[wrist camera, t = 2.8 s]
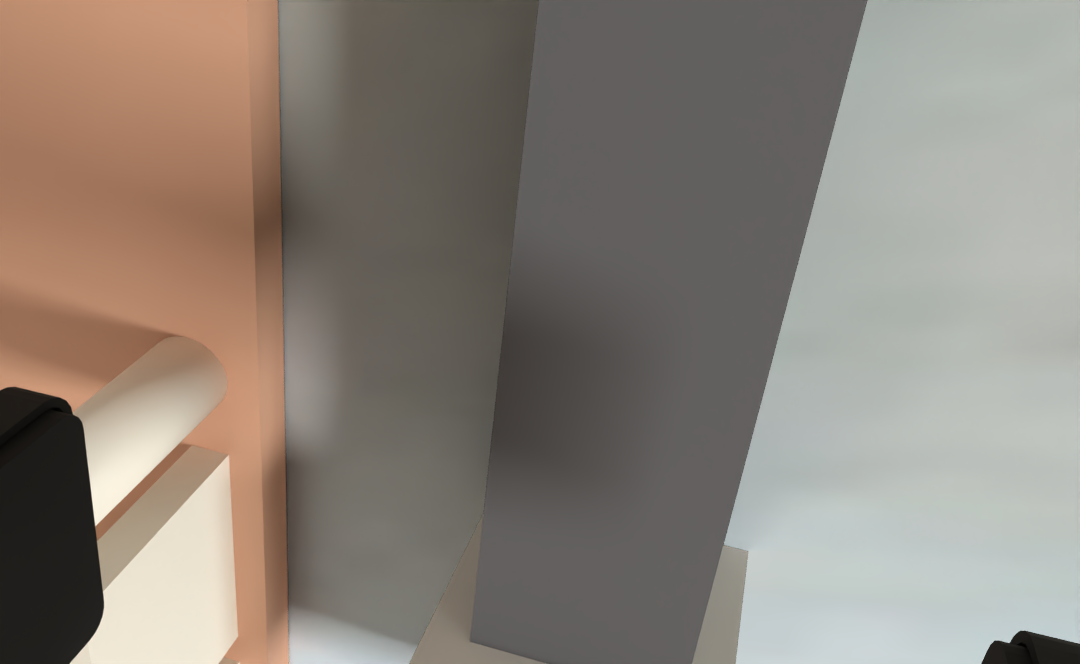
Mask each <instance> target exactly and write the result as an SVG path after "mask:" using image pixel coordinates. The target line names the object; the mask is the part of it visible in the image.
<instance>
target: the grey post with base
mask: <svg viewBox="0 0 1080 664" xmlns="http://www.w3.org/2000/svg"><path fill="white" fill-rule="evenodd" d="M866 3H867V0H539V4H538V13H537V23H536V32H535V41H534V50H533V60H532V69H531V78H530V87H529V97H528V106H527V115H526V125H525V134H524V143H523V152H522V162H521V171H520V180H519V189H518V199H517V208H516V217H515V226H514V236H513V245H512V254H511V264H510V273H509V282H508V291H507V301H506V310H505V319H504V328H503V338H502V347H501V356H500V365H499V375H498V384H497V393H496V402H495V412H494V421H493V430H492V440H491V449H490V458H489V467H488V477H487V486H486V495H485V504H484V513H483V515H482V517H481V519H480V521H479V523H478V525H477V527H476V529H475V531H474V533H473V535H472V537H471V539H470V541H469V543H468V545H467V547H466V549H465V551H464V554H463V556H462V558H461V560H460V562H459V564H458V566H457V568H456V570H455V572H454V574H453V576H452V578H451V580H450V582H449V584H448V586H447V588H446V590H445V592H444V594H443V596H442V598H441V600H440V602H439V604H438V606H437V608H436V610H435V612H434V614H433V616H432V618H431V621H430V623H429V625H428V627H427V629H426V631H425V633H424V635H423V637H422V639H421V641H420V643H419V645H418V647H417V649H416V651H415V653H414V655H413V657H412V659H411V661H410V663H409V664H735V663H736V654H737V646H738V637H739V628H740V620H741V611H742V603H743V594H744V585H745V577H746V568H747V559H748V551H744V550H740V549H736V548H733V547H729V546H725V545H724V541H725V537H726V533H727V529H728V526H729V522H730V518H731V514H732V510H733V507H734V503H735V499H736V495H737V492H738V488H739V484H740V480H741V476H742V473H743V469H744V465H745V461H746V457H747V454H748V450H749V446H750V442H751V439H752V435H753V431H754V427H755V423H756V420H757V416H758V412H759V408H760V405H761V401H762V397H763V393H764V389H765V386H766V382H767V378H768V374H769V370H770V367H771V363H772V359H773V355H774V352H775V348H776V344H777V340H778V336H779V333H780V329H781V325H782V321H783V317H784V314H785V310H786V306H787V302H788V299H789V295H790V291H791V287H792V283H793V280H794V276H795V272H796V268H797V265H798V261H799V257H800V253H801V249H802V246H803V242H804V238H805V234H806V230H807V227H808V223H809V219H810V215H811V212H812V208H813V204H814V200H815V196H816V193H817V189H818V185H819V181H820V177H821V174H822V170H823V166H824V162H825V159H826V155H827V151H828V147H829V143H830V140H831V136H832V132H833V128H834V125H835V121H836V117H837V113H838V109H839V106H840V102H841V98H842V94H843V90H844V87H845V83H846V79H847V75H848V72H849V68H850V64H851V60H852V56H853V53H854V49H855V45H856V41H857V37H858V34H859V30H860V26H861V22H862V19H863V15H864V11H865V7H866Z"/></svg>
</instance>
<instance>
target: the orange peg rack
mask: <svg viewBox="0 0 1080 664" xmlns="http://www.w3.org/2000/svg"><path fill="white" fill-rule="evenodd" d="M6 387H19V388H23V389H27V390H31V391H35V392H39V393H43V394H48V395H52V396H56V397H60V398H62V399H64V400H66V401H67V402H68V403H69V405H70V406H71V409H72V412H73V415H75V416H77V417H79V419H80V420H81V421H82V424H83V428H84V435H85V444H86V452H87V461H88V469H89V478H90V486H91V494H92V503H93V511H94V520H95V528H96V537H97V545H98V554H99V562H100V571H101V579H102V588H103V596H104V611H103V616H102V619H101V622H100V625H99V627H98V629H97V631H96V633H95V634H94V635H93V637H92V638H91V640H90V641H89V642H88V643H87V644H86V645H85V647H84V648H83V649H82V650H81V651H80V652H79V653H78V655H77V656H76V657H75V658H74V659H73V660H72V661H71V663H70V664H289V640H288V579H287V518H286V457H285V397H284V336H283V275H282V214H281V153H280V93H279V32H278V0H0V390H2V389H4V388H6Z"/></svg>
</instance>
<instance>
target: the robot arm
mask: <svg viewBox="0 0 1080 664" xmlns="http://www.w3.org/2000/svg"><path fill="white" fill-rule="evenodd" d="M103 611H104V596H103V588H102V579H101V571H100V562H99V554H98V545H97V537H96V528H95V520H94V511H93V503H92V494H91V486H90V478H89V469H88V461H87V452H86V444H85V435H84V428H83V424H82V421H81V420H80V419H79V417H77V416H75V415H73V412H72V409H71V406H70V405H69V403H68V402H67V401H66V400H64V399H62V398H60V397H56V396H52V395H48V394H43V393H39V392H35V391H31V390H27V389H23V388H19V387H6V388H4V389H2V390H0V664H70V663H71V661H72V660H73V659H74V658H75V657H76V656H77V655H78V653H79V652H80V651H81V650H82V649H83V648H84V647H85V645H86V644H87V643H88V642H89V641H90V640H91V638H92V637H93V635H94V634H95V633H96V631H97V629H98V627H99V625H100V622H101V619H102V616H103ZM982 664H1080V644H1078V643H1074V642H1069V641H1065V640H1061V639H1057V638H1053V637H1049V636H1045V635H1040V634H1036V633H1032V632H1028V631H1019V632H1018V633H1017V634H1016V635H1015V636H1014V637H1013V639H1012V640H1011V642H1010V643H1006V642H1002V641H994V642H993V643H992V644H991V645H990V647H989V649H988V650H987V653H986V655H985V657H984V659H983V661H982Z"/></svg>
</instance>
